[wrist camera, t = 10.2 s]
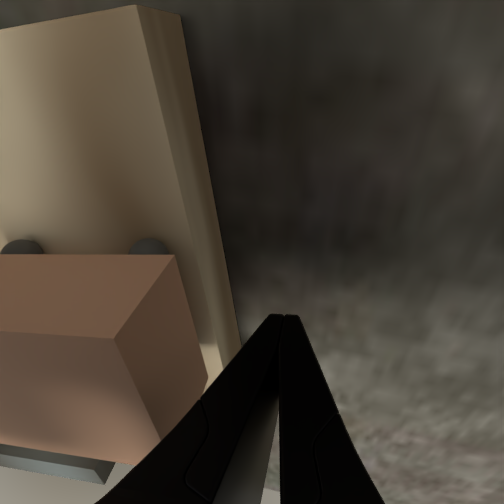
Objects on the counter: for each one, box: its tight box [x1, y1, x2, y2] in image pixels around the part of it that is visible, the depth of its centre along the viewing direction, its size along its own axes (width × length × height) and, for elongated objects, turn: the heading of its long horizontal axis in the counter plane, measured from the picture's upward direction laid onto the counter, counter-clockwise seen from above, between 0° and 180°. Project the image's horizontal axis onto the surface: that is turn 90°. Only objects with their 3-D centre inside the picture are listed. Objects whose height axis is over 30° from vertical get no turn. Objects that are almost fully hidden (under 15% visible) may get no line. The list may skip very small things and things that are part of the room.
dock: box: [0, 4, 242, 485], centre depth 12 cm, size 16×16×6 cm
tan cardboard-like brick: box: [0, 238, 208, 465], centre depth 10 cm, size 7×5×4 cm
